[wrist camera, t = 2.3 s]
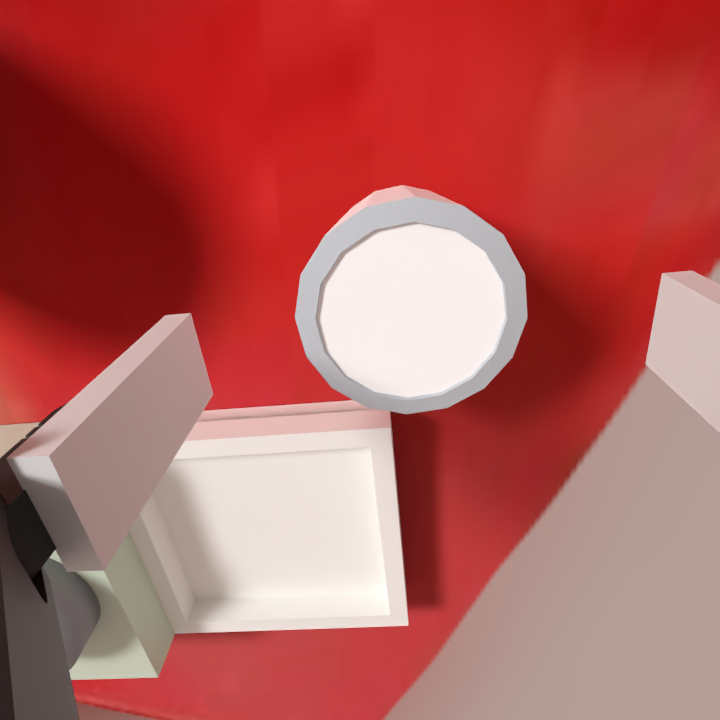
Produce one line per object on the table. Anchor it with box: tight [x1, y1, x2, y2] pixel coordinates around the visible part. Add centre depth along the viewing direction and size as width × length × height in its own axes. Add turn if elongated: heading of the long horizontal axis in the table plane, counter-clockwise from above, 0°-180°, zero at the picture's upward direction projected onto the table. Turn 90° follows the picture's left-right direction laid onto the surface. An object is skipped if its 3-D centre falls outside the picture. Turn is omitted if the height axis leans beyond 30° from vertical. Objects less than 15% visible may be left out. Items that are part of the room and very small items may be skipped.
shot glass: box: [295, 185, 528, 414], centre depth 17 cm, size 7×7×7 cm
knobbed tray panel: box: [0, 400, 408, 680], centre depth 24 cm, size 14×23×7 cm, turn 96°
